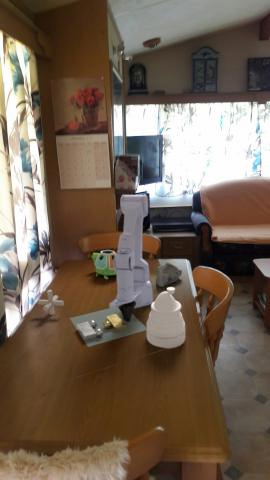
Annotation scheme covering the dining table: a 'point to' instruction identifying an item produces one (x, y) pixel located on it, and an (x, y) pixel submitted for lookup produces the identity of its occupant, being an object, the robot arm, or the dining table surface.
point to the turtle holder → (104, 263)
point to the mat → (110, 334)
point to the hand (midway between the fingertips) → (127, 320)
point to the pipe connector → (50, 302)
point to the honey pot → (166, 321)
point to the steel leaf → (89, 330)
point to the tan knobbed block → (114, 323)
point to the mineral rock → (167, 274)
